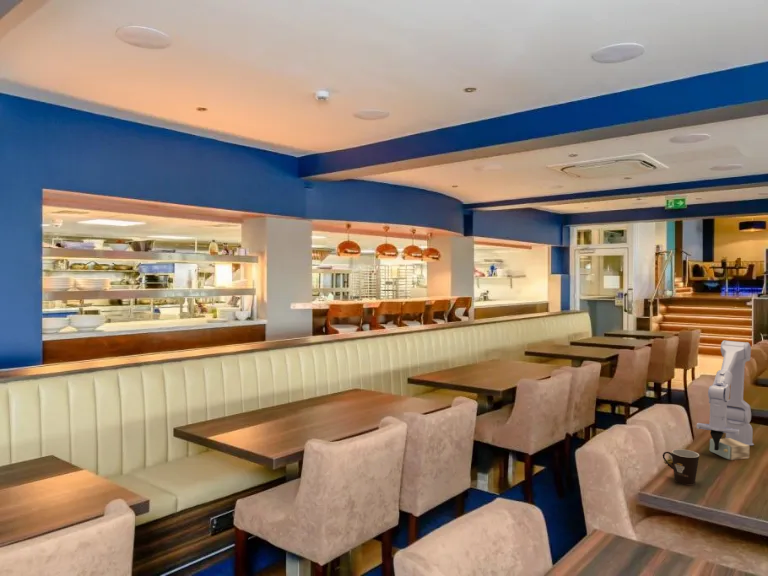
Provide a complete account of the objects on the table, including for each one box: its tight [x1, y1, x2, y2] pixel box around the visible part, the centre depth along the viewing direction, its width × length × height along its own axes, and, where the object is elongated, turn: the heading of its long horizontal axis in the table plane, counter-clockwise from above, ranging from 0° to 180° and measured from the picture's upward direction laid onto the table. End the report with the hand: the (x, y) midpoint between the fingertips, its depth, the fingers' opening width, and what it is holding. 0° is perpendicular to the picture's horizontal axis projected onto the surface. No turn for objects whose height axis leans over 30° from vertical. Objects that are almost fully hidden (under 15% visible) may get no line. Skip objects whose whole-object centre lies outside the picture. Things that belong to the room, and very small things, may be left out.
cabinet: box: [719, 437, 751, 461], centre depth 230 cm, size 8×10×5 cm
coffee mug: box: [662, 448, 700, 485], centre depth 204 cm, size 12×9×10 cm
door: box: [708, 438, 731, 460], centre depth 229 cm, size 2×10×5 cm, turn 9°
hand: (716, 449), depth 228 cm, fingers closed, pressing on door
